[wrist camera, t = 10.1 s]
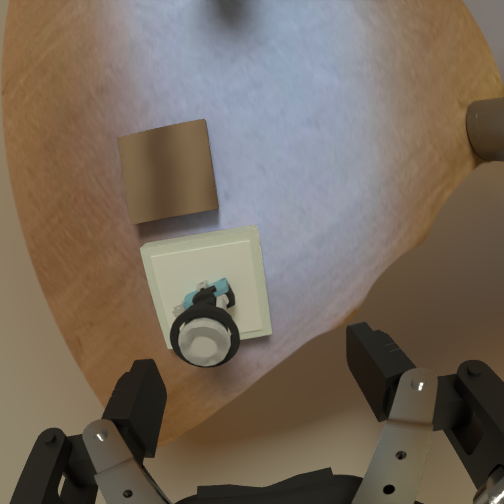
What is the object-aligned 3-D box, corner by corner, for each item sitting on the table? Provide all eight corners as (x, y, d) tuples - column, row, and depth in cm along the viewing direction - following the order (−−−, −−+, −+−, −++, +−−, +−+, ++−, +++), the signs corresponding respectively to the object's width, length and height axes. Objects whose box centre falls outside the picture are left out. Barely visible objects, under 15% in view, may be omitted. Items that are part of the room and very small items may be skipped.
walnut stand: (206, 122, 28) (204, 118, 26) (218, 206, 31) (218, 208, 29) (123, 139, 28) (117, 138, 26) (136, 221, 30) (131, 224, 28)
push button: (187, 327, 31) (176, 387, 21) (163, 286, 29) (139, 337, 20) (243, 304, 31) (252, 360, 21) (221, 260, 29) (220, 303, 20)
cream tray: (255, 224, 31) (258, 229, 29) (269, 323, 35) (272, 335, 32) (145, 242, 31) (139, 249, 28) (171, 337, 34) (167, 350, 32)
